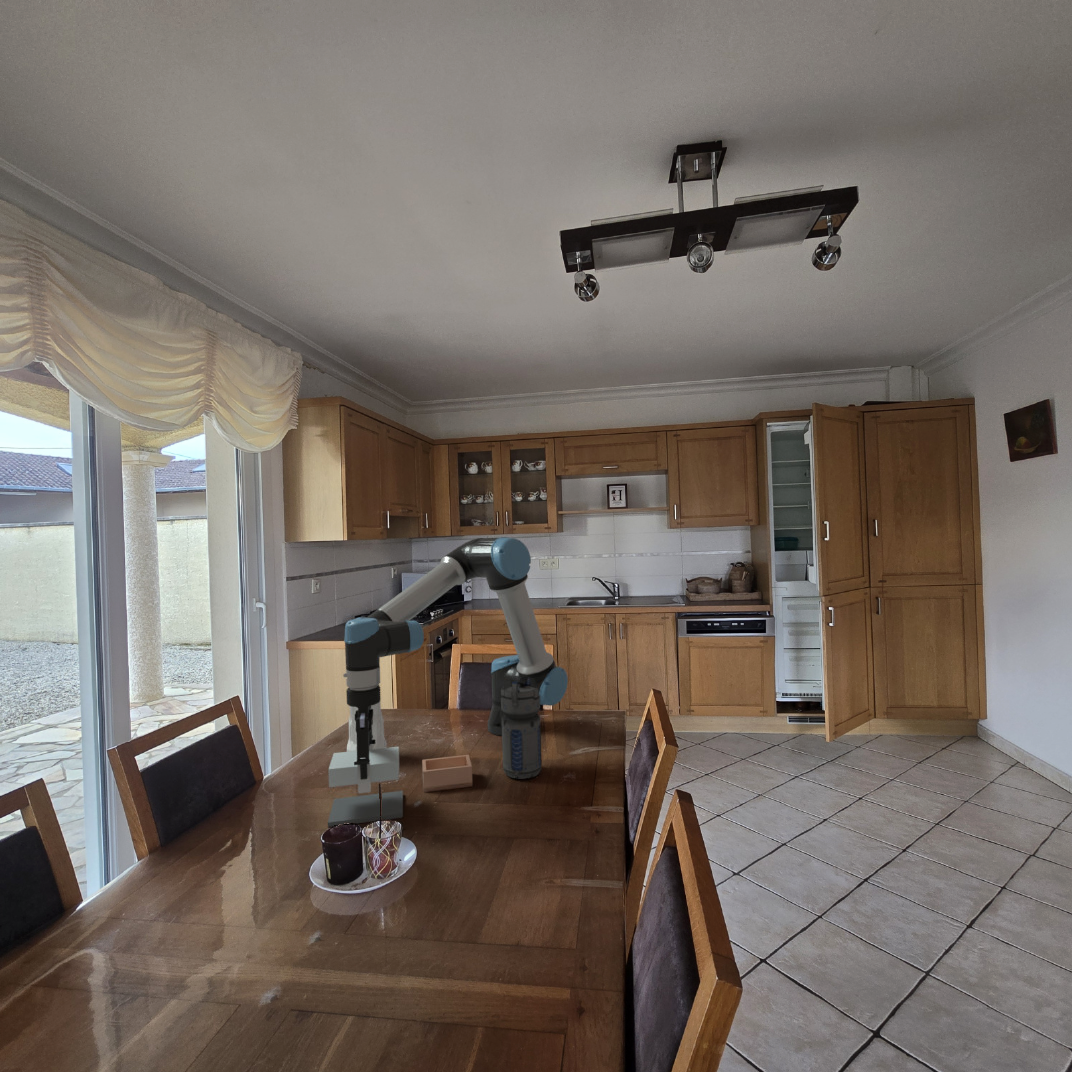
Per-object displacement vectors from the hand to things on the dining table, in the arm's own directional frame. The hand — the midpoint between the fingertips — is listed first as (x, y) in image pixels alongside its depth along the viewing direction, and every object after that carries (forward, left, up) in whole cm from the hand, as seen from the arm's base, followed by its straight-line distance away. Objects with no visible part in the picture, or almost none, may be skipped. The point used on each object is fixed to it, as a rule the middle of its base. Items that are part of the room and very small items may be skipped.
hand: (366, 782), depth 138 cm
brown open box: (-19, -10, -6) cm, 23 cm away
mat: (0, 0, -6) cm, 6 cm away
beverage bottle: (-39, -11, -7) cm, 41 cm away
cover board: (0, 0, +2) cm, 2 cm away
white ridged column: (+2, -33, -7) cm, 34 cm away
